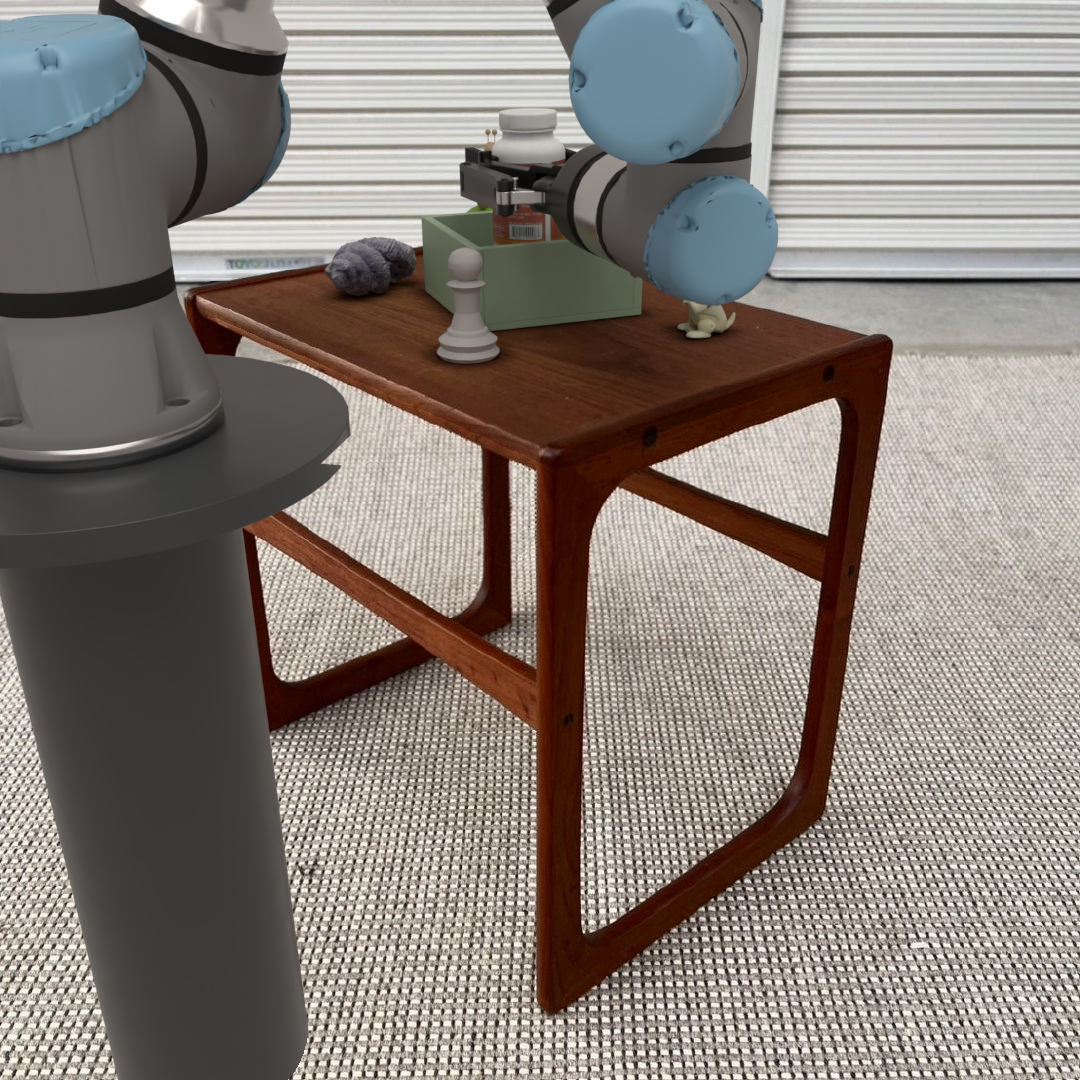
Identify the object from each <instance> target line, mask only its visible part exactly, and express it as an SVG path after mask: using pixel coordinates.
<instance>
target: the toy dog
mask: <svg viewBox="0 0 1080 1080" xmlns="http://www.w3.org/2000/svg"><path fill="white" fill-rule="evenodd" d="M676 298H678V297H676ZM679 300H680V303H681V304H682V306H683V307H684V306H686V305H687V309H688V322H683V323H679V324H678V325H677V330H680V331H685V332H686V334H685V337H686V338H688V339H705V338H706V339H707V338H711V336H712V333H719V334H722V333H724V331H726V330H728V329H729V328H730V327H732V325H733V324H734V322H735V319H736V311H735V312H734V311H733V312H732V314H731V315H730V317H729V318H728V319H727V315H726V313H725V309H724V307H723V305H719V306H715V305H702V304H698V303H695V302H691V301H686V300H684V299H681V298H679Z"/></svg>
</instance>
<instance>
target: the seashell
mask: <svg viewBox="0 0 1080 1080" xmlns="http://www.w3.org/2000/svg"><path fill="white" fill-rule="evenodd" d="M417 263H418V259H417V256H416V252H415V250H414V247H413V246H412V245H409V244H408V243H405V242H403V241H400V240H396V238H391V237H385V236H384V237H383V236H382V237H381V236H379V237H377V236H373V237H363V238H362V239H359V240H356V241H350V242H346V243H345V244H343V245H341V246H340V247H339V248H338V250H336V253H335V254H334V255H333V258H332V260H331V261H330V263H328V265H327V266H326V267H325V268H324V274H325V275H326V277H327V278H328V279H329V280H330V281H331V282H332V284H333V286H334V288H335V289H336V290H337V291H340V292H346V293H347V294H350V295H352V296H357V297H361V296H365V295H368V294H369V293H370V292H372V293H375V294H385V293H386V291H387V290H388V288H389V286H390V282H391V283H394V284H396V283H399V282H402V281H403V280H404V279H407V278H411V277H412V276H414V272H415V271H416V267H417Z"/></svg>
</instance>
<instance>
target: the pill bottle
mask: <svg viewBox="0 0 1080 1080" xmlns="http://www.w3.org/2000/svg"><path fill="white" fill-rule="evenodd" d="M557 117H558V116H557V110H556V109H553V108H545V107H544V108H543V107H521V108H508V109H503V110H500V111H499V113H498V127H499V131H500V132H502V135H501V136H502V137H501V138H500V139H498V140H497V141H495V144H494V145H493V147H492V150H491V151H492V155H494V156H497V157H499V162H503V163H508V164H514V165H520V166H525V167H530V166H531V165H536V164H543V163H547V164H553V165H559V164H565V163H566V157H565V148H566V147H565V146H564V143H563V142H562V141H560V139H558V138H556V137H555V135H554V132H555V131H556V130H557V126H558V120H557V119H558V118H557ZM493 239H494V245H506V244H518V243H530V242H541V241H553V240H565V239H566V238H565V237H564V235H563V234H562V233H561V231H560V230H559V228H558V227H557V225H556V223H555V221H554V219H553V217H552V216H551V215H548V214H544V213H539V212H535V211H532V210H531V208H530V205H529V204H519V211H518V212H513V215H511V216H509V217H502V216H500V215H497V213H496V210H494V209H493Z"/></svg>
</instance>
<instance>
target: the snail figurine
mask: <svg viewBox="0 0 1080 1080" xmlns="http://www.w3.org/2000/svg"><path fill="white" fill-rule="evenodd" d="M484 133H485V135H487V136H490V135H493V137H494V138H493V139H494V140H493V141H489V140H490V139H489V137H487V142H486V144H485V145H484V148H483V151H484V150H489V151H491V150H492V147H493V145H494V144H495V143H496V135H497V134H498V130H497V129H494V128H493V129H492V130H491V129H489V128H486V129H485V132H484ZM483 211H493V209H491V208H489V207H486V206H484V205H481V204H479V203H477V202H476V205H475V206H473V207H471V208H469V209H468V210H467V211H466V212H465V213H470V212H483Z"/></svg>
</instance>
